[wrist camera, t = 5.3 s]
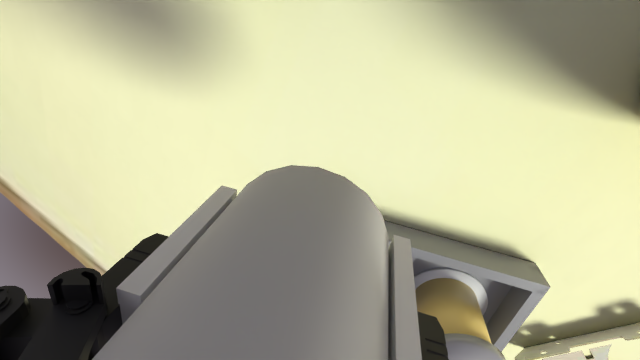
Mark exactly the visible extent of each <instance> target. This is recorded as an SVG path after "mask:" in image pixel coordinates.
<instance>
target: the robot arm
mask: <svg viewBox="0 0 640 360" xmlns="http://www.w3.org/2000/svg"><path fill="white" fill-rule="evenodd" d="M236 195H237V190H236V189H232V188H229V187H225V186H221V187H220V188H219V189H218V190H217V191H216V192H215V193H214V194H213V195H212V196H211V197H210V198H208V199H207V200H206V201H205V202H204V203H203V204H202V205H201V206H200V207H199V208H198V209H197V210H196V211H195V212H194V213H193V214H192V215H191V216H190V217H189V218H188V219H187V220H186V221H185V222H184V223H183V224H182V225H181V226H180V227H179V228H178V229H177V230H175V231H174V232H173V233H172V234H171V235H170V236H169V237H168V236H164V235H161V234H158V233H156V234H154V235H152V236H150V237H148V238H146V239H143V240H142V241H141V242H140V243H139V244H138V245H136V246H135V247H134V248H133V250H131V251H130V252H129V253H127V254H126V255H125V257H124V258H122V259H121V260H119V261H118V262H117V263H116V264H115V265H114V266H113V267H111V268H110V269H109V270H108V271H107V272H106V273H105V274H103V275H102V276H101V274H100V273H99V272H98V271H96V270H94V269H90V268H78V269H73V270H69V271H66V272H63V273H62V274H60V275H58V276H57V277H55V278H53V279H52V280H51V282H49V283H48V285H47V286H48V290H49V293H50V296H51V299H43V298H27V296H26V294H25V292H24V290H23V289H21V288H19V287H17V286H2V287H0V360H92V359H93V358H94V357H95V355H96V354H97V353H98V352H99V351H100V350H101V349H102V348H103V346H104V345H105V344H106V343H107V342H108V341H109V340H110V339H111V337H112V336H113V335H114V334H115V333H116V332H117V331H118V330H119V328H120V327H121V326H122V325H123V324H124V323H125V322H126V321H127V319H128V318H129V317H130V316H131V315H132V314H133V313H134V312H135V310H136V309H137V308H138V307H139V306H140V305H141V304H142V302H143V301H144V300H145V299H146V298H147V297H148V296H149V295H150V293H151V292H152V291H153V290H154V289H155V288H156V287H157V286H158V284H159V283H160V282H161V281H162V280H163V279H164V278H165V277H166V275H167V274H168V273H169V272H170V271H171V270H172V269H173V268H174V266H175V265H176V264H177V263H178V262H179V261H180V260H181V259H182V257H183V256H184V255H185V254H186V253H187V252H188V251H189V250H190V248H191V247H192V246H193V245H194V244H195V243H196V242H197V241H198V239H199V238H200V237H201V236H202V235H203V234H204V233H205V232H206V230H207V229H208V228H209V227H210V226H211V225H212V224H213V223H214V221H215V220H216V219H217V218H218V217H219V216H220V215H221V213H222V212H223V211H224V210H225V209H226V208H227V207H228V206H229V204H230V203H231V202H232V201H233V200H234V199H235V198H236ZM388 360H449V359H448V351H447V347H446V340H445V334H444V330H443V328H442V327H441V325H440V323H439V321H438V319H437V318H436V317H434V316H431V315H428V314H424V313H421V312H418V311H417V303H416V293H415V283H414V272H413V262H412V252H411V241H410V239H407V238H404V237H400V236H397V235H393V238H392V240H391V243H390V245H389V260H388Z"/></svg>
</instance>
